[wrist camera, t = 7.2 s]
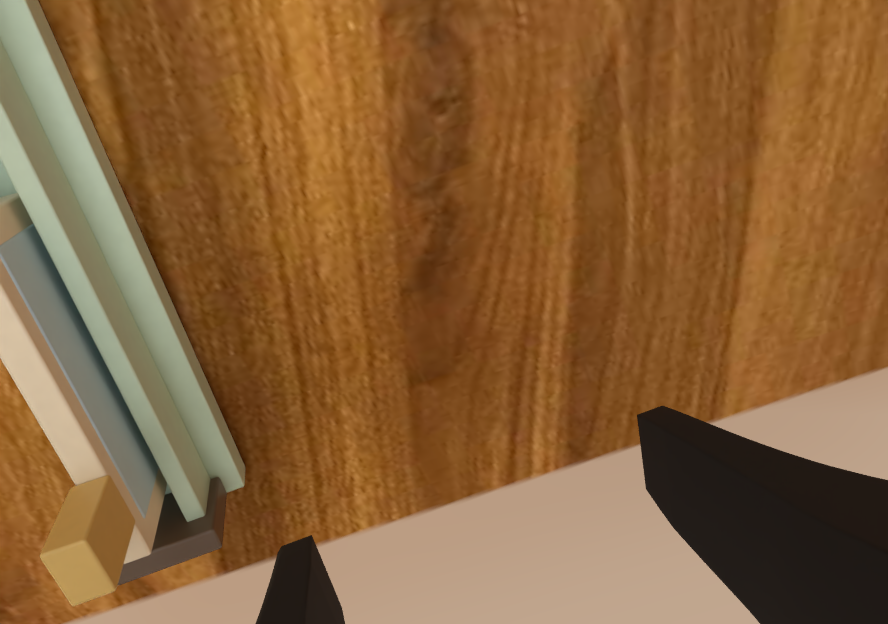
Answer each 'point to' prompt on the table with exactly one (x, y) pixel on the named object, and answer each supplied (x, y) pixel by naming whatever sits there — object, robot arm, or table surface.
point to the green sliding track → (113, 285)
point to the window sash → (75, 419)
